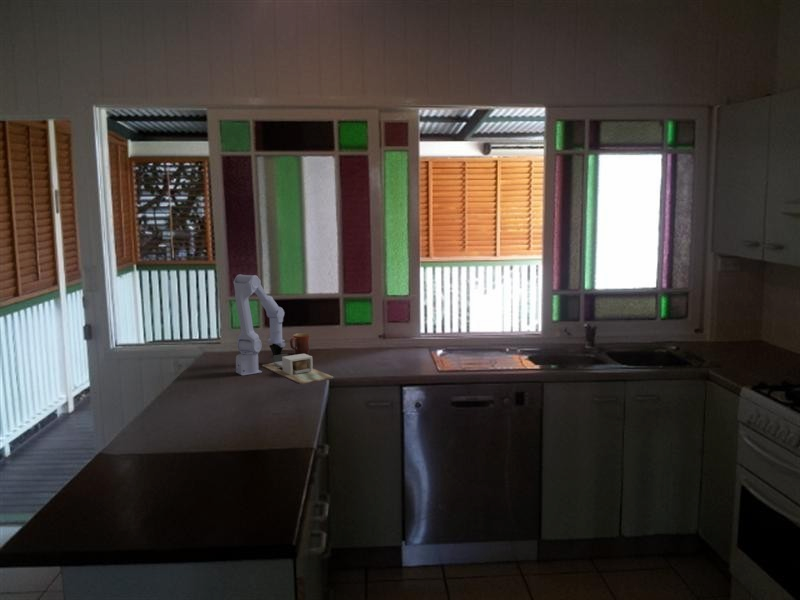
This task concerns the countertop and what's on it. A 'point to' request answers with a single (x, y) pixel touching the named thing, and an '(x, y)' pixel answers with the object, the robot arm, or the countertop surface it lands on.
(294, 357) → the tunnel
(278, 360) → the sled
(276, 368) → the beige flat rectangular board
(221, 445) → the countertop surface
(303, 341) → the mug
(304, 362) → the walnut block
